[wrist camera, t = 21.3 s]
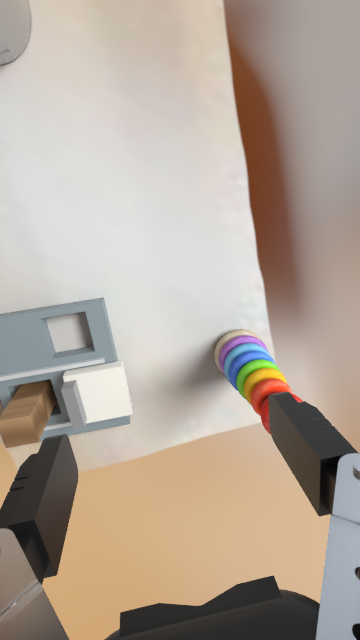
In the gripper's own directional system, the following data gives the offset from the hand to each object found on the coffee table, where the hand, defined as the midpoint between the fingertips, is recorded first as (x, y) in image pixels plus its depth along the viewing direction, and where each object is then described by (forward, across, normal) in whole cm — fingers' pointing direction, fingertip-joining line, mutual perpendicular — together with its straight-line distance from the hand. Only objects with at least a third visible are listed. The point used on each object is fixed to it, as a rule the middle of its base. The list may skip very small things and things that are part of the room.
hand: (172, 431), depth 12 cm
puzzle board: (+33, +15, +12) cm, 38 cm away
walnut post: (+33, +19, +15) cm, 41 cm away
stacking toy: (+33, -12, +14) cm, 38 cm away
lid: (+31, +10, +15) cm, 36 cm away
